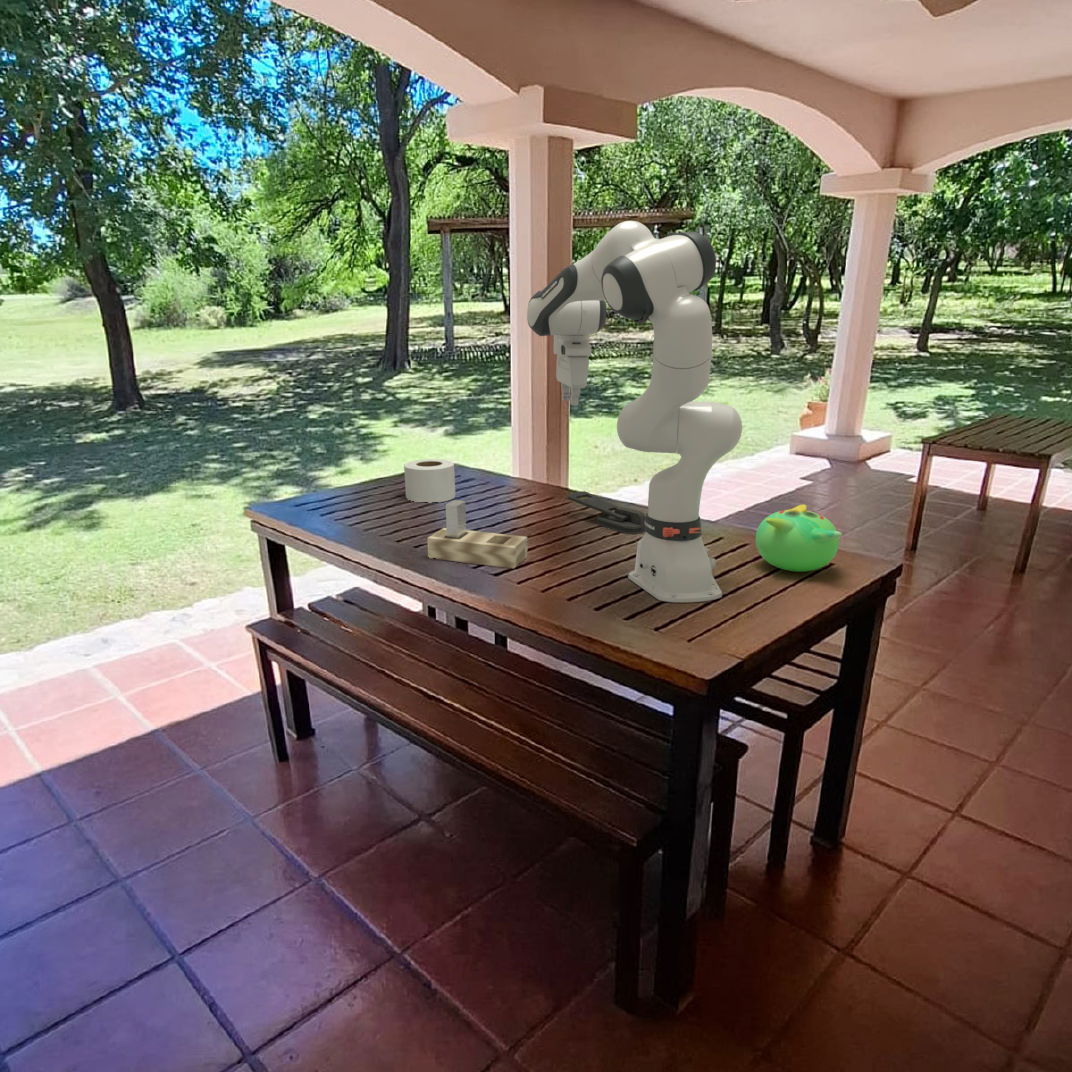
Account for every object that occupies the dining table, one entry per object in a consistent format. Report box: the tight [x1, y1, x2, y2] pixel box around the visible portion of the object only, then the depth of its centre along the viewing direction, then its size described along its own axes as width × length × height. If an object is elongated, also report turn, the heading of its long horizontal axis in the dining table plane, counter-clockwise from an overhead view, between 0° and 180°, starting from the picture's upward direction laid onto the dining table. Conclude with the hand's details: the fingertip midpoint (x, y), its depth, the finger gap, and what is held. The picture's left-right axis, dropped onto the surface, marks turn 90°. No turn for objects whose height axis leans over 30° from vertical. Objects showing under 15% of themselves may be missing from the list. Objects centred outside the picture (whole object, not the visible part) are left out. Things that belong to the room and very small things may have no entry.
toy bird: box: [755, 503, 843, 573], centre depth 169 cm, size 18×17×15 cm
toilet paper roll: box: [403, 458, 456, 504], centre depth 231 cm, size 16×15×11 cm
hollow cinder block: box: [426, 527, 528, 569], centre depth 177 cm, size 22×9×5 cm, turn 71°
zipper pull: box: [566, 490, 646, 535], centre depth 205 cm, size 9×7×25 cm
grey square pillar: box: [445, 499, 467, 539], centre depth 178 cm, size 3×4×13 cm, turn 160°
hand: (570, 402), depth 189 cm, fingers open, 8 cm apart
